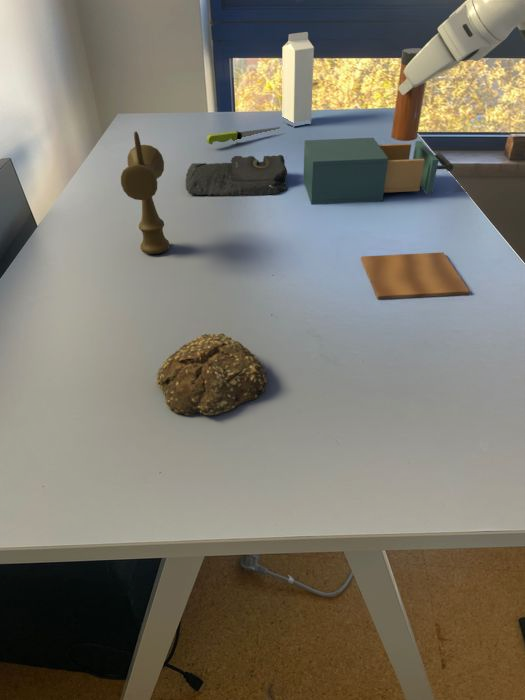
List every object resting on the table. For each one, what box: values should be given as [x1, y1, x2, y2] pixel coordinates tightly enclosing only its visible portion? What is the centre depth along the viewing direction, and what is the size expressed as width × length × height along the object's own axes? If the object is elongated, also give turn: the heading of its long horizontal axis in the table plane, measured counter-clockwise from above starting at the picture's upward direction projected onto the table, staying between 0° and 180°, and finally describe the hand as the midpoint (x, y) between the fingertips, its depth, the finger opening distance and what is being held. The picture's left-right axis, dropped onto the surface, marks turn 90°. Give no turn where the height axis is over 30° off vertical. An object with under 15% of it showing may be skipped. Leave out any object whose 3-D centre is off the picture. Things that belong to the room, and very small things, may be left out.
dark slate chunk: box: [185, 154, 288, 197], centre depth 112 cm, size 15×22×5 cm
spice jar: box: [390, 47, 427, 142], centre depth 98 cm, size 5×5×15 cm
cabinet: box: [302, 137, 388, 205], centre depth 106 cm, size 15×13×9 cm
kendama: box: [120, 130, 170, 255], centre depth 84 cm, size 6×10×20 cm, turn 3°
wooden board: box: [360, 252, 471, 300], centre depth 82 cm, size 14×12×1 cm
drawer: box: [378, 140, 454, 194], centre depth 107 cm, size 18×11×7 cm, turn 94°
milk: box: [281, 31, 315, 123], centre depth 139 cm, size 6×6×22 cm
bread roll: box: [155, 333, 267, 416], centre depth 63 cm, size 13×12×5 cm
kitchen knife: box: [206, 126, 281, 145], centre depth 134 cm, size 22×1×3 cm, turn 124°
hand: (408, 87), depth 97 cm, fingers closed on spice jar, 5 cm apart
